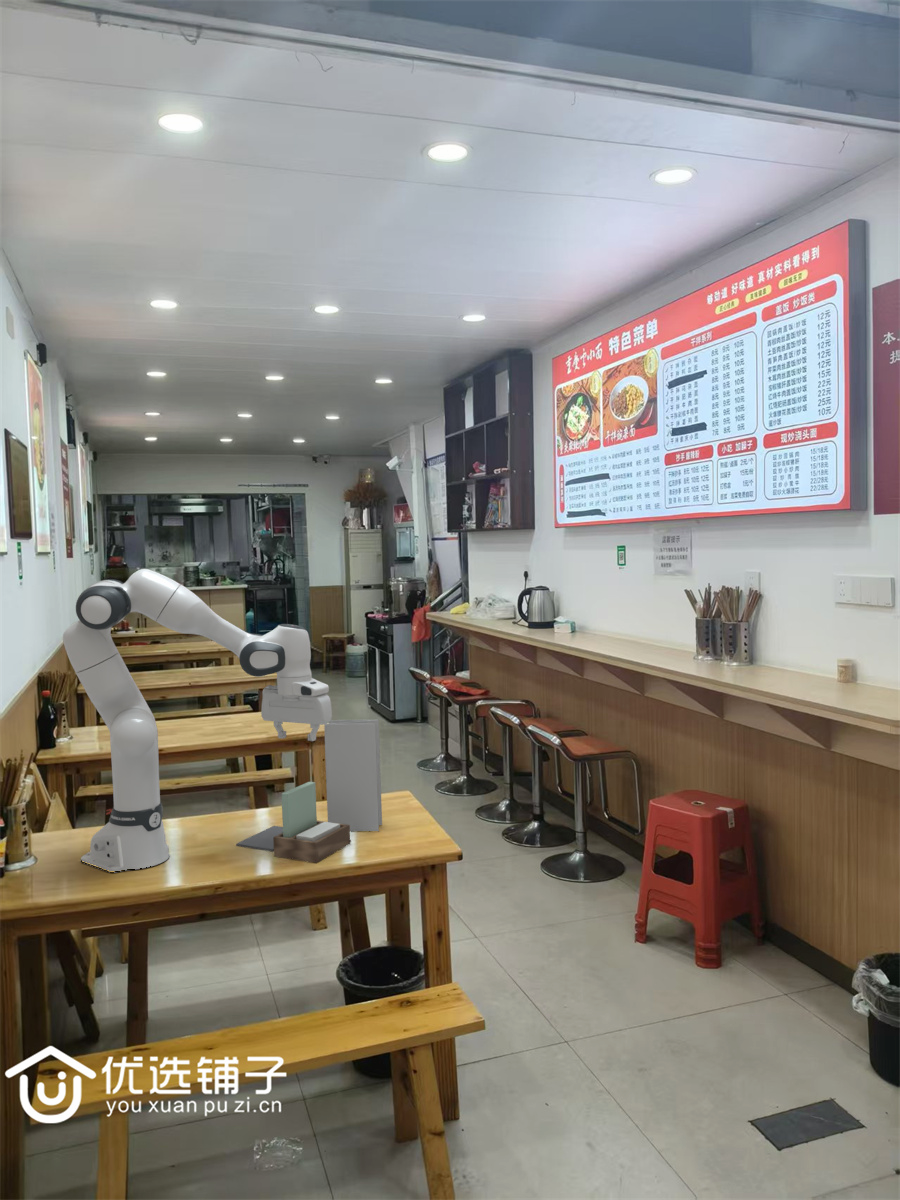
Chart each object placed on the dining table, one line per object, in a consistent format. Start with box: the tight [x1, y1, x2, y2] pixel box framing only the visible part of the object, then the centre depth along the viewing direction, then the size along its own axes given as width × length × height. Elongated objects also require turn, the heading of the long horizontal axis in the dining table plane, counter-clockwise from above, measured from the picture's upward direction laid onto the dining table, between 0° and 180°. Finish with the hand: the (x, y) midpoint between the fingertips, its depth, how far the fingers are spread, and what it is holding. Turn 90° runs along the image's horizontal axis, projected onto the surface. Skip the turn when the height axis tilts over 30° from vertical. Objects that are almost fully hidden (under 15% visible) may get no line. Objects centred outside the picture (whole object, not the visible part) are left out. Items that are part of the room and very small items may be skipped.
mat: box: [236, 825, 283, 853], centre depth 231 cm, size 12×16×1 cm
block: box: [281, 781, 318, 838], centre depth 223 cm, size 2×12×16 cm, turn 154°
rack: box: [273, 820, 351, 864], centre depth 221 cm, size 13×16×5 cm
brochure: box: [323, 719, 383, 832], centre depth 237 cm, size 14×6×30 cm, turn 84°
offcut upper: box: [296, 821, 340, 842], centre depth 220 cm, size 5×12×3 cm, turn 152°
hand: (296, 739), depth 222 cm, fingers open, 8 cm apart
